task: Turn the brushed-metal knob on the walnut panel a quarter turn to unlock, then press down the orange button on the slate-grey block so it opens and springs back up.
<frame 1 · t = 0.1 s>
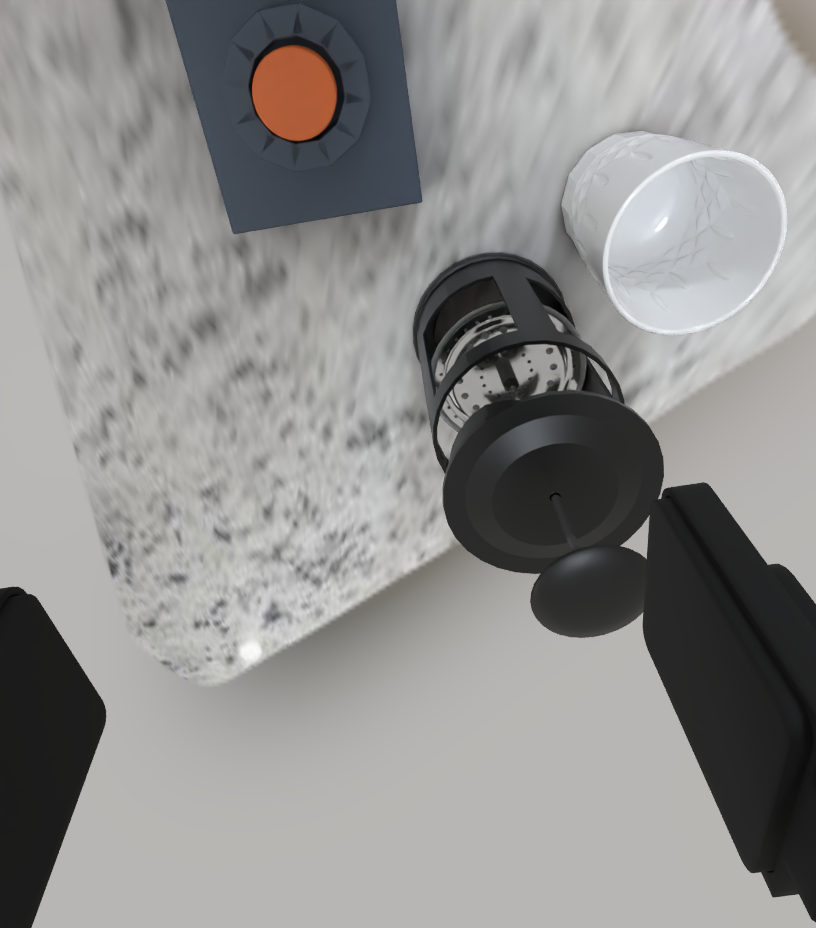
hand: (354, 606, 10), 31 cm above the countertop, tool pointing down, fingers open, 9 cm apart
french press: (487, 335, 42), on the countertop
white cup: (620, 196, 38), on the countertop
button block: (303, 84, 34), on the countertop
release button: (295, 93, 30), point 4 cm above the countertop, slide at 0.1 cm
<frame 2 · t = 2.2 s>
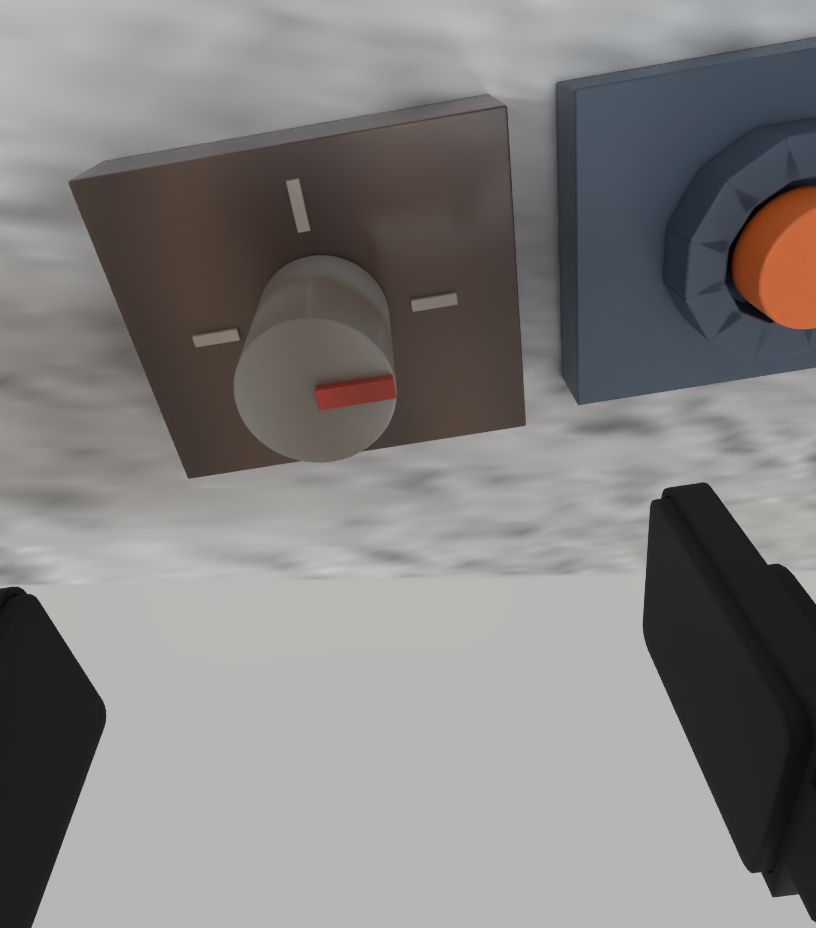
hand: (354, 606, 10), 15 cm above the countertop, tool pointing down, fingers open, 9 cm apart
button block: (735, 218, 23), on the countertop
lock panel: (328, 286, 23), on the countertop
release button: (808, 258, 19), point 4 cm above the countertop, slide at 0.1 cm
lock knob: (320, 355, 19), point 6 cm above the countertop, hinge at 0.0°
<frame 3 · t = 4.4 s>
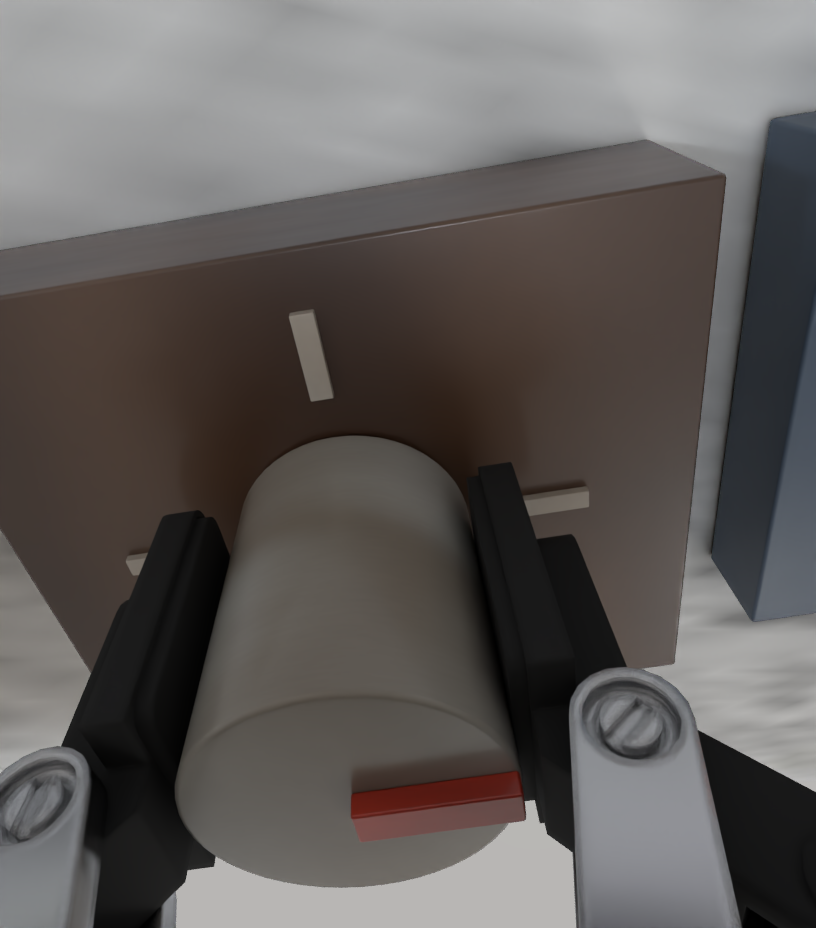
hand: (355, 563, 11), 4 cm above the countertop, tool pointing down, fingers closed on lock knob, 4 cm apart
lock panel: (357, 439, 15), on the countertop
lock knob: (354, 647, 10), point 6 cm above the countertop, hinge at 0.0°, touching gripper
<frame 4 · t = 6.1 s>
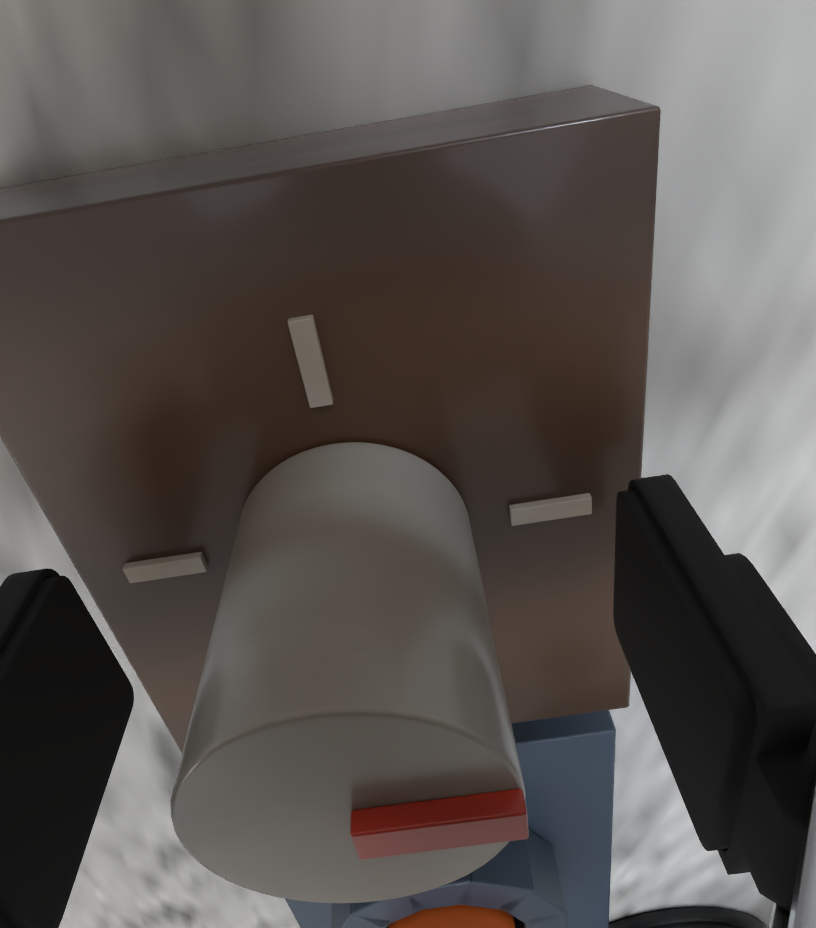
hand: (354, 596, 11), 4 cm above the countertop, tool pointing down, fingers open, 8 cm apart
button block: (438, 802, 22), on the countertop
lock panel: (357, 445, 14), on the countertop
lock knob: (353, 657, 10), point 6 cm above the countertop, hinge at 89.3°
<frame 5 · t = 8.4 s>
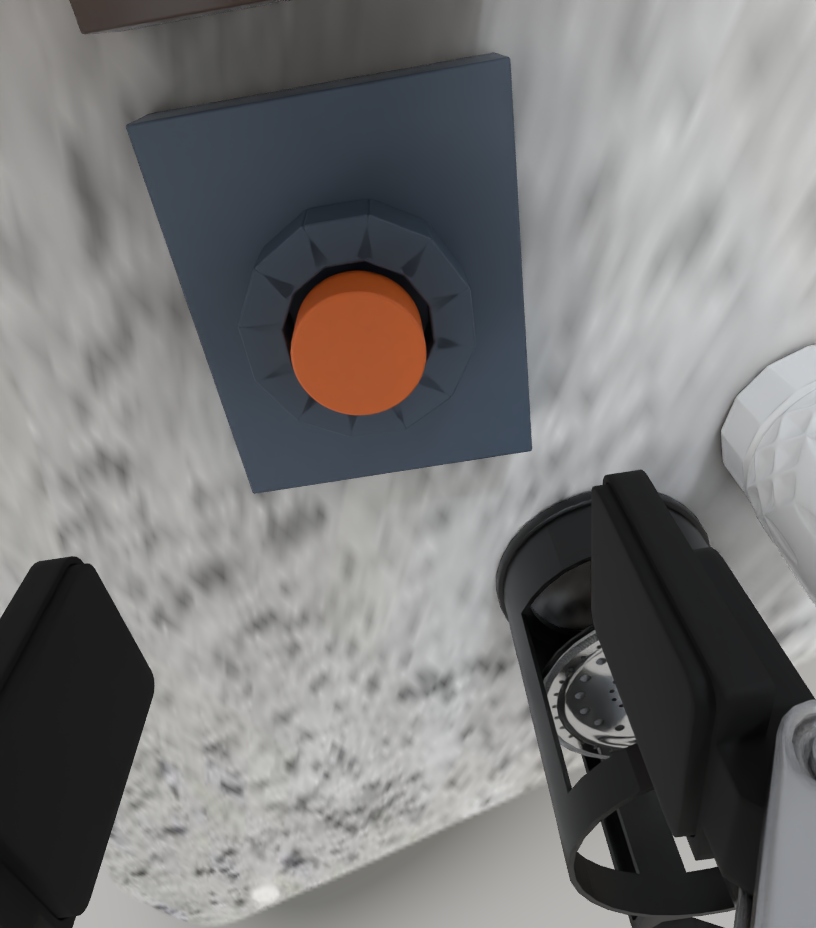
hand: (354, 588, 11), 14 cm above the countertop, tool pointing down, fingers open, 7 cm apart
french press: (596, 577, 31), on the countertop
white cup: (803, 417, 26), on the countertop
button block: (360, 288, 22), on the countertop
release button: (359, 344, 19), point 4 cm above the countertop, slide at 0.1 cm
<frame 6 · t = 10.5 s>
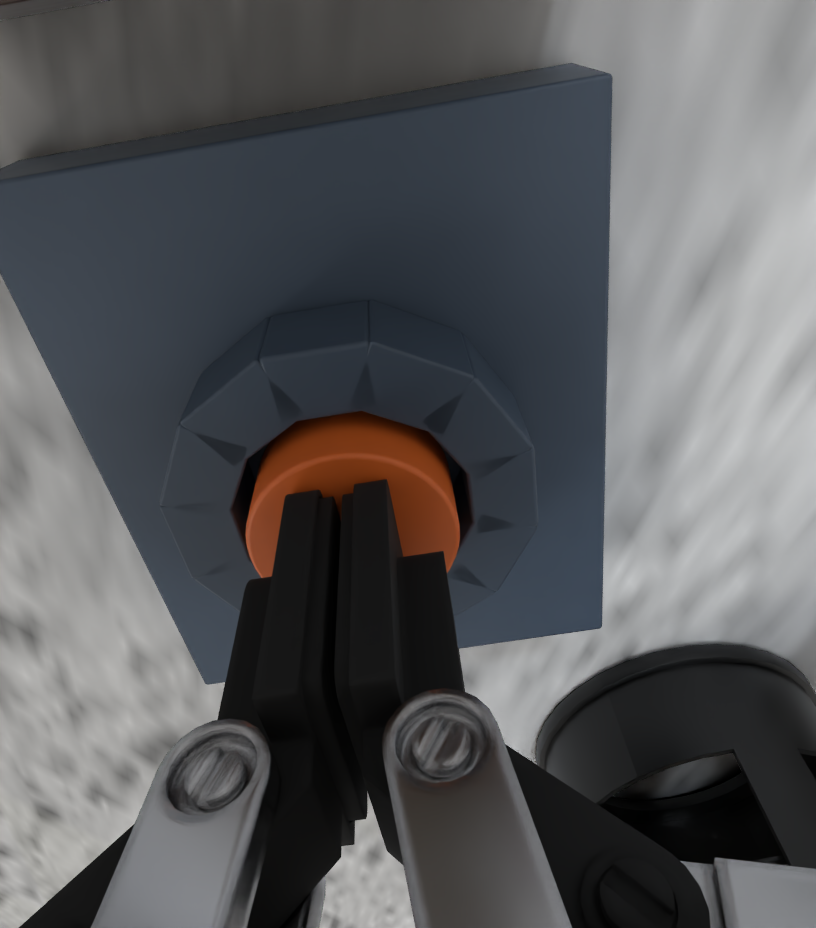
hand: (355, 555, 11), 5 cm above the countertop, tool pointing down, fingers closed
french press: (665, 740, 24), on the countertop
button block: (356, 406, 15), on the countertop
release button: (354, 512, 12), point 4 cm above the countertop, slide at -0.5 cm, touching gripper
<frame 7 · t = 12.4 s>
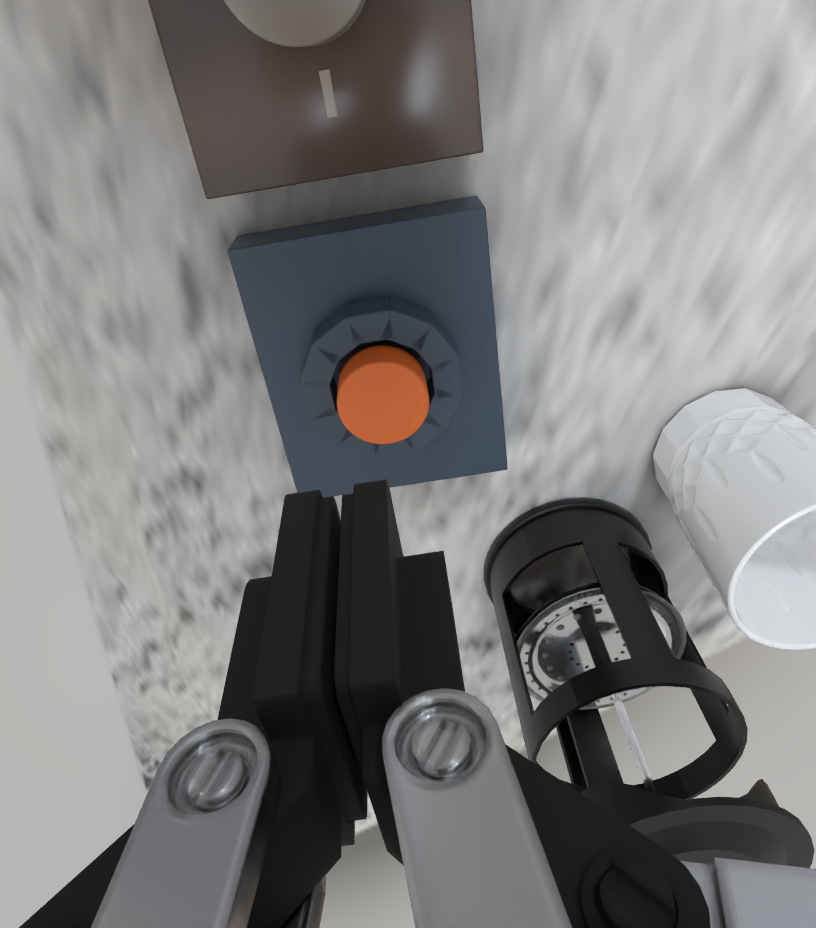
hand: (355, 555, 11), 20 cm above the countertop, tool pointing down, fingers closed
french press: (563, 570, 39), on the countertop
white cup: (715, 444, 35), on the countertop
button block: (380, 351, 31), on the countertop
release button: (382, 395, 27), point 4 cm above the countertop, slide at 0.1 cm
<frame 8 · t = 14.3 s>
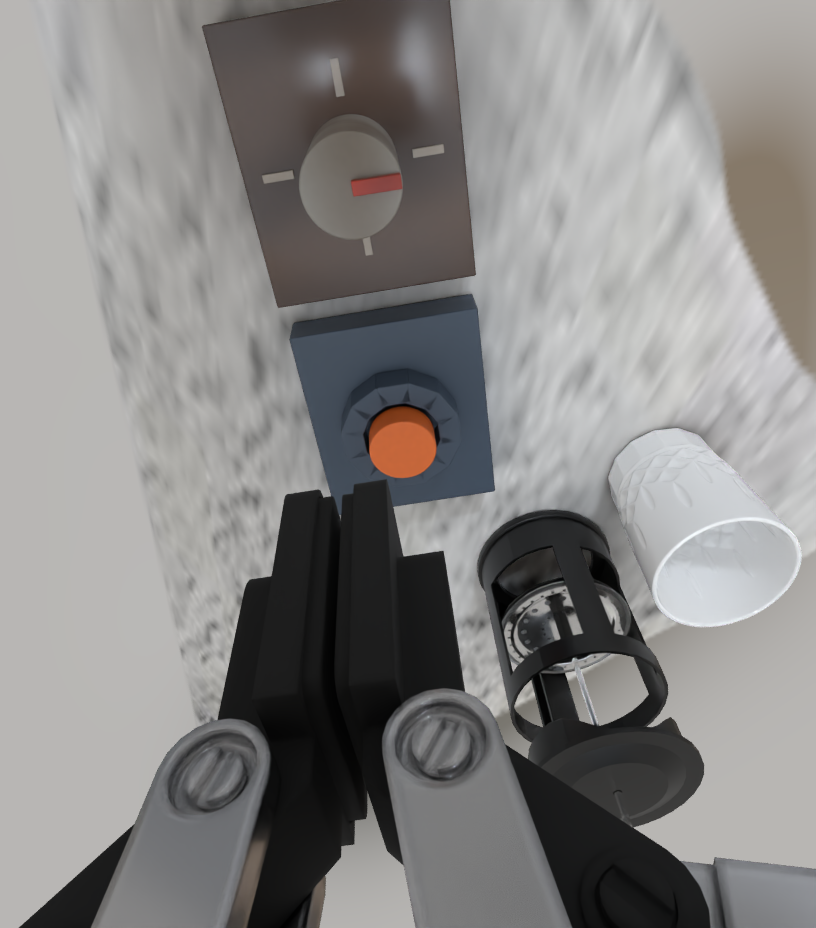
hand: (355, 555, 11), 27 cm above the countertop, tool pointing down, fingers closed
french press: (540, 565, 49), on the countertop
white cup: (657, 469, 45), on the countertop
button block: (398, 402, 41), on the countertop
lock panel: (353, 152, 33), on the countertop
release button: (402, 442, 37), point 4 cm above the countertop, slide at 0.1 cm
lock knob: (352, 175, 28), point 6 cm above the countertop, hinge at 89.3°
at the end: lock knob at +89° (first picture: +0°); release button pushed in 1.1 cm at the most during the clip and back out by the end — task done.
